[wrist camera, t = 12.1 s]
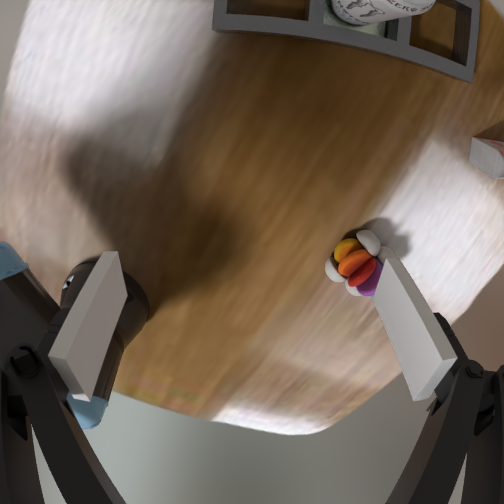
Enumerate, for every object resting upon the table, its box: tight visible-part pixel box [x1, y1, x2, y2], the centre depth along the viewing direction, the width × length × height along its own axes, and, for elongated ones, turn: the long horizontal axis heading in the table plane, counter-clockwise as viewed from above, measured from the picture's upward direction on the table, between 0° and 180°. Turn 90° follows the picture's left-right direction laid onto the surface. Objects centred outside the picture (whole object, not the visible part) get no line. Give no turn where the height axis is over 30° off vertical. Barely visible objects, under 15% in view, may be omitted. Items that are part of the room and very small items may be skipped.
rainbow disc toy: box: [325, 230, 396, 297], centre depth 42 cm, size 8×10×7 cm
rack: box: [212, 0, 480, 83], centre depth 25 cm, size 30×12×4 cm, turn 85°
